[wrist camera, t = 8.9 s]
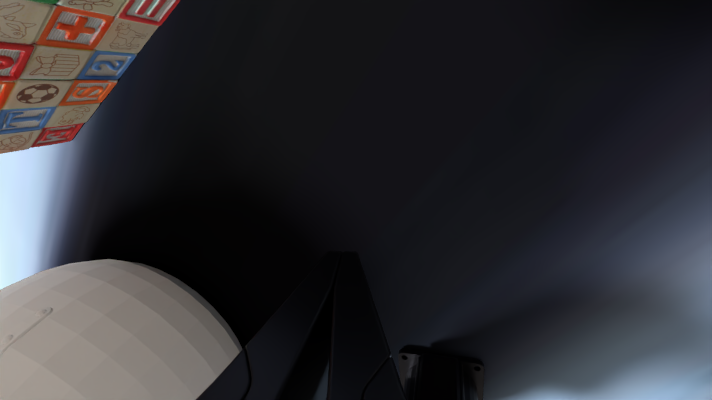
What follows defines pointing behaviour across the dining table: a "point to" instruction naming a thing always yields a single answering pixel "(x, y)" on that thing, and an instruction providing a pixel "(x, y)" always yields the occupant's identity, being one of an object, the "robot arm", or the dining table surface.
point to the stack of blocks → (65, 62)
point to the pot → (109, 335)
